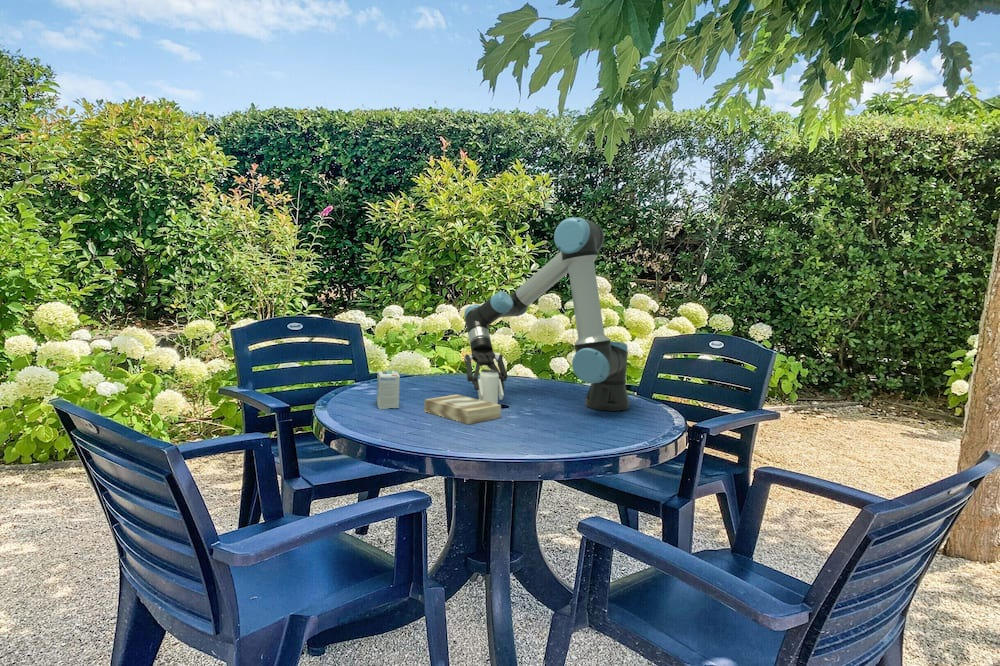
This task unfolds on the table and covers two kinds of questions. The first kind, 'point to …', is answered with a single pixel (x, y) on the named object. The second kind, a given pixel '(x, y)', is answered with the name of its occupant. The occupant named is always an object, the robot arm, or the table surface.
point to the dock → (463, 408)
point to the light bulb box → (388, 389)
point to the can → (490, 385)
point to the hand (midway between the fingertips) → (491, 397)
